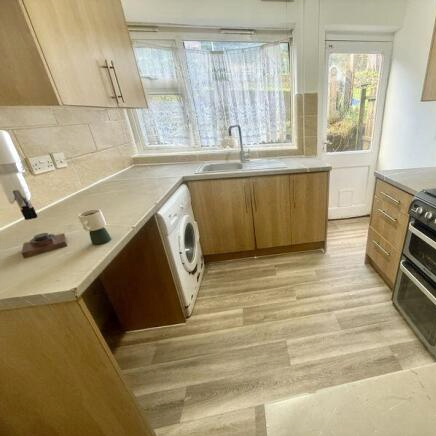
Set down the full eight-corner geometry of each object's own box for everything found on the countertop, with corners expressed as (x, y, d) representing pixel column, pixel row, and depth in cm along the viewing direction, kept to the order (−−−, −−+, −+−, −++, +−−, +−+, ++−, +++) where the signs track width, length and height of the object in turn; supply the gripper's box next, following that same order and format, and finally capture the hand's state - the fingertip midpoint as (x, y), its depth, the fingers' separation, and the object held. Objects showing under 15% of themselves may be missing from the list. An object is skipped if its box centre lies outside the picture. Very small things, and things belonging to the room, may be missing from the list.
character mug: (99, 237, 102) (86, 208, 96) (118, 234, 103) (106, 206, 97) (84, 250, 92) (69, 219, 86) (105, 248, 93) (92, 217, 87)
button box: (24, 258, 88) (18, 248, 86) (26, 248, 94) (21, 239, 93) (67, 246, 95) (63, 237, 93) (66, 237, 102) (62, 229, 100)
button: (35, 242, 91) (33, 238, 90) (35, 239, 93) (33, 235, 93) (49, 239, 93) (47, 235, 92) (49, 235, 96) (48, 231, 95)
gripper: (-6, 167, 85) (19, 215, 92) (-13, 174, 75) (15, 227, 82) (25, 164, 90) (45, 210, 97) (21, 170, 79) (45, 221, 87)
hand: (31, 218), depth 90 cm, fingers closed
